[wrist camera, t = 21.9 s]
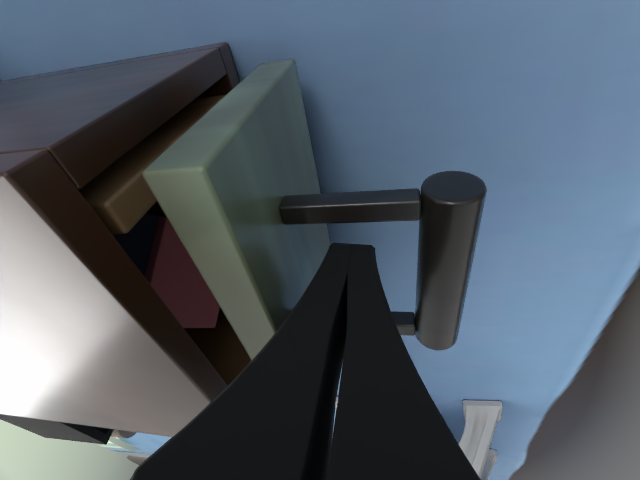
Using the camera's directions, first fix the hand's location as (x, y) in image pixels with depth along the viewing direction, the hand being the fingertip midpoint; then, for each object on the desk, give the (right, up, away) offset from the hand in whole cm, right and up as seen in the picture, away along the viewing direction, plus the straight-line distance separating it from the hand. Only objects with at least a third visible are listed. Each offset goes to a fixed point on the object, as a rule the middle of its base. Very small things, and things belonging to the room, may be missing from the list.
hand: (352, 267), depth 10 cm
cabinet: (-10, +3, +6) cm, 12 cm away
